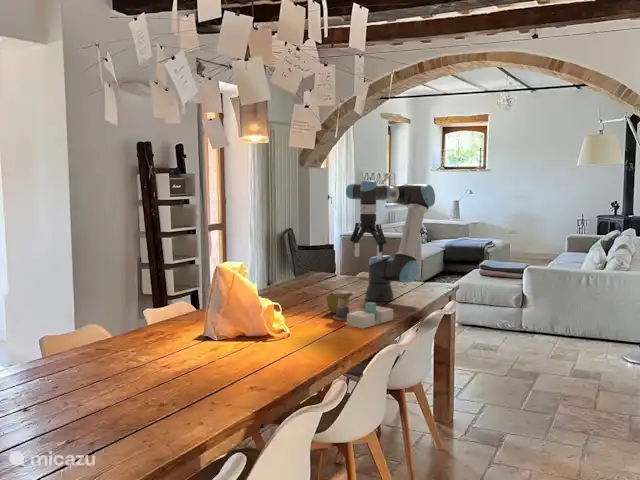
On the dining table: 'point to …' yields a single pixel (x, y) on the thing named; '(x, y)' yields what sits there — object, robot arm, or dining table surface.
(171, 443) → the dining table surface
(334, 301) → the flower pot
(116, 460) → the dining table surface
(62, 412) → the dining table surface
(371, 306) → the block
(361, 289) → the dining table surface
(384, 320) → the notched board
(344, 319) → the door knob
